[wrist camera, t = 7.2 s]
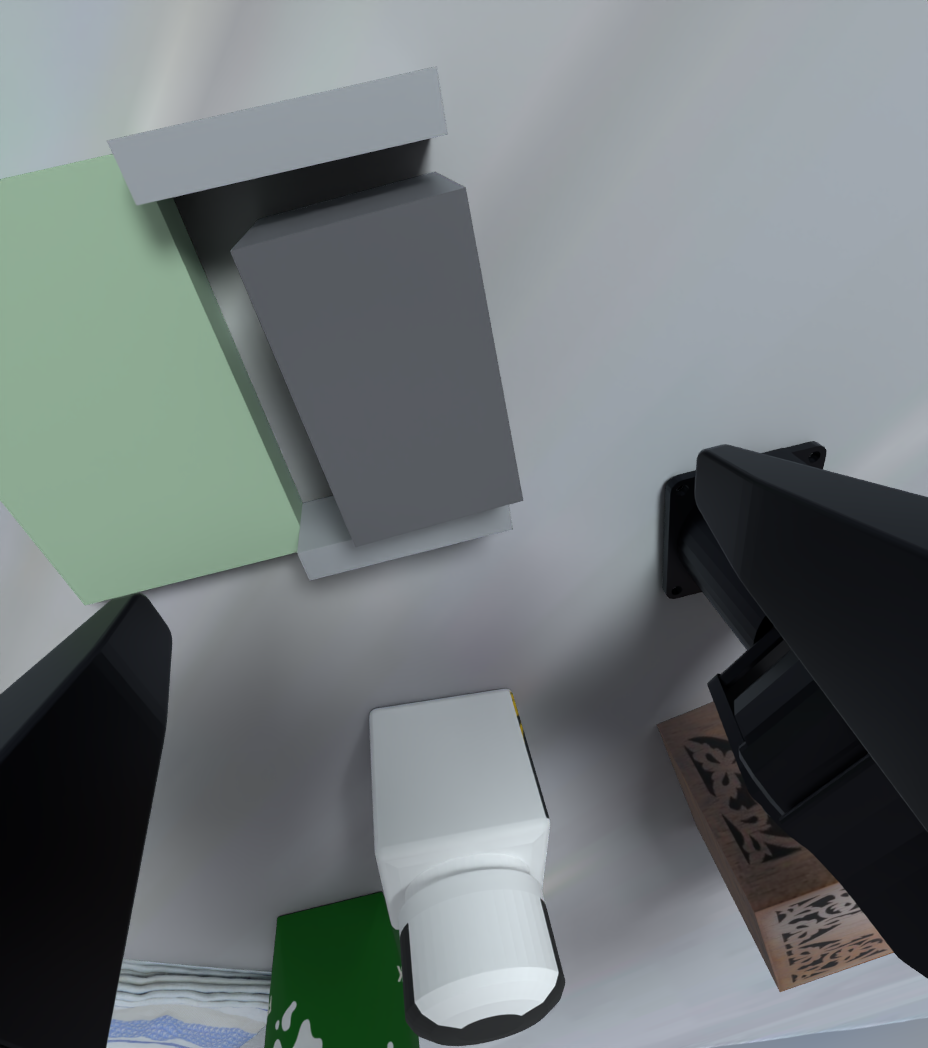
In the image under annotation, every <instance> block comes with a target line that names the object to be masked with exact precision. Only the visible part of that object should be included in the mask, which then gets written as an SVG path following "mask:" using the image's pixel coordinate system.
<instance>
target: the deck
mask: <svg viewBox="0 0 928 1048" xmlns="http://www.w3.org/2000/svg"><path fill="white" fill-rule="evenodd" d="M447 134H448V132H447V126H446V120H445V114H444V108H443V102H442V95H441V89H440V83H439V77H438V71H437V66H436V67H431V68H427V69H423V70H418V71H414V72H409V73H405V74H400V75H396V76H391V77H387V78H383V79H378V80H374V81H369V82H365V83H360V84H356V85H351V86H347V87H343V88H338V89H334V90H329V91H325V92H320V93H316V94H311V95H307V96H303V97H298V98H294V99H289V100H285V101H280V102H276V103H271V104H267V105H263V106H258V107H254V108H249V109H245V110H240V111H236V112H231V113H227V114H223V115H218V116H214V117H209V118H205V119H200V120H196V121H191V122H187V123H183V124H178V125H174V126H169V127H165V128H160V129H156V130H152V131H147V132H143V133H138V134H134V135H129V136H125V137H120V138H116V139H112V140H107V143H108V145H109V147H110V149H111V151H112V153H113V154H110V155H106V156H101V157H97V158H93V159H88V160H84V161H79V162H75V163H70V164H66V165H62V166H57V167H53V168H48V169H44V170H39V171H35V172H31V173H26V174H22V175H17V176H13V177H9V178H4V179H0V501H1V502H2V503H3V504H4V506H5V507H6V508H7V509H8V511H9V512H10V513H11V514H12V516H13V517H14V518H15V519H16V520H17V522H18V523H19V524H20V525H21V527H22V528H23V529H24V530H25V532H26V533H27V534H28V535H29V537H30V538H31V539H32V540H33V542H34V543H35V544H36V545H37V547H38V548H39V549H40V550H41V552H42V553H43V554H44V555H45V557H46V558H47V559H48V560H49V561H50V563H51V564H52V565H53V566H54V568H55V569H56V570H57V571H58V573H59V574H60V575H61V576H62V578H63V579H64V580H65V581H66V583H67V584H68V585H69V586H70V588H71V589H72V590H73V591H74V593H75V594H76V595H77V596H78V597H79V599H80V600H81V601H82V602H83V604H84V605H89V604H93V603H97V602H101V601H105V600H109V599H113V598H117V597H120V596H124V595H128V594H132V593H136V592H140V591H144V590H148V589H152V588H156V587H160V586H164V585H168V584H172V583H176V582H180V581H184V580H188V579H192V578H196V577H200V576H204V575H208V574H212V573H216V572H220V571H224V570H228V569H232V568H236V567H240V566H244V565H248V564H252V563H256V562H260V561H264V560H268V559H272V558H276V557H280V556H284V555H288V554H292V553H296V552H297V554H298V556H299V558H300V561H301V563H302V565H303V567H304V569H305V571H306V574H307V576H308V578H309V580H314V579H318V578H322V577H326V576H330V575H334V574H338V573H342V572H346V571H350V570H354V569H358V568H362V567H366V566H370V565H374V564H377V563H381V562H385V561H389V560H393V559H397V558H401V557H405V556H409V555H413V554H417V553H421V552H425V551H429V550H433V549H437V548H441V547H445V546H449V545H453V544H457V543H461V542H465V541H469V540H473V539H477V538H480V537H484V536H488V535H492V534H496V533H500V532H504V531H508V530H512V529H513V527H512V521H511V515H510V509H509V505H505V506H502V507H498V508H495V509H491V510H488V511H484V512H480V513H477V514H473V515H470V516H466V517H462V518H459V519H455V520H452V521H448V522H445V523H441V524H437V525H434V526H430V527H427V528H423V529H419V530H416V531H412V532H409V533H405V534H402V535H398V536H394V537H391V538H387V539H384V540H380V541H376V542H373V543H369V544H366V545H362V546H359V547H355V545H354V543H353V541H352V538H351V536H350V533H349V531H348V529H347V526H346V524H345V522H344V519H343V517H342V515H341V512H340V510H339V507H338V505H337V503H336V500H335V498H334V496H330V497H326V498H322V499H318V500H314V501H309V502H305V503H302V501H301V498H300V496H299V494H298V491H297V489H296V486H295V484H294V482H293V479H292V477H291V475H290V472H289V470H288V468H287V465H286V463H285V461H284V458H283V456H282V454H281V451H280V449H279V446H278V444H277V442H276V439H275V437H274V435H273V432H272V430H271V428H270V425H269V423H268V421H267V418H266V416H265V414H264V411H263V409H262V407H261V404H260V402H259V399H258V397H257V395H256V392H255V390H254V388H253V385H252V383H251V381H250V378H249V376H248V374H247V371H246V369H245V367H244V364H243V362H242V360H241V357H240V355H239V352H238V350H237V348H236V345H235V343H234V341H233V338H232V336H231V334H230V331H229V329H228V327H227V324H226V322H225V320H224V317H223V315H222V313H221V310H220V308H219V305H218V303H217V301H216V298H215V296H214V294H213V291H212V289H211V287H210V284H209V282H208V280H207V277H206V275H205V273H204V270H203V268H202V265H201V263H200V261H199V258H198V256H197V254H196V251H195V249H194V247H193V244H192V242H191V240H190V237H189V235H188V233H187V230H186V228H185V226H184V223H183V221H182V218H181V216H180V214H179V211H178V209H177V207H176V204H175V202H174V200H173V197H176V196H181V195H185V194H189V193H194V192H198V191H203V190H207V189H211V188H216V187H220V186H224V185H229V184H233V183H237V182H242V181H246V180H251V179H255V178H259V177H264V176H268V175H272V174H277V173H281V172H285V171H290V170H294V169H299V168H303V167H307V166H312V165H316V164H320V163H325V162H329V161H333V160H338V159H342V158H347V157H351V156H355V155H360V154H364V153H368V152H373V151H377V150H381V149H386V148H390V147H395V146H399V145H403V144H408V143H412V142H416V141H421V140H425V139H430V138H434V137H438V136H443V135H447Z"/></svg>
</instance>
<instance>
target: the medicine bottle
mask: <svg viewBox="0 0 928 1048" xmlns="http://www.w3.org/2000/svg"><path fill="white" fill-rule="evenodd" d="M369 726H370V750H371V775H372V799H373V823H374V847H375V857H376V861H377V865H378V870H379V874H380V878H381V883H382V887H383V891H384V896H385V900H386V904H387V909H388V913H389V917H390V921H391V925H392V926H393V927H394V928H395V929H396V930H399V934H400V949H401V964H402V979H403V993H404V1008H405V1020H406V1022H407V1024H408V1025H409V1027H410V1028H411V1029H412V1030H413V1032H414V1033H415V1034H416V1035H417V1036H419V1037H421V1038H424V1039H427V1040H429V1041H432V1042H435V1043H438V1044H441V1045H447V1046H465V1045H474V1044H480V1043H485V1042H490V1041H494V1040H498V1039H501V1038H504V1037H508V1036H511V1035H513V1034H516V1033H518V1032H521V1031H523V1030H525V1029H527V1028H529V1027H531V1026H533V1025H534V1024H536V1023H537V1022H539V1021H540V1020H541V1019H543V1018H544V1017H545V1016H546V1015H547V1014H548V1012H549V1011H550V1010H551V1009H552V1008H553V1007H554V1006H555V1005H556V1004H557V1003H558V1002H559V1000H560V998H561V996H562V992H563V989H564V986H565V978H564V974H563V970H562V967H561V963H560V959H559V955H558V951H557V947H556V943H555V939H554V935H553V932H552V928H551V924H550V920H549V916H548V912H547V908H546V904H545V901H544V897H543V893H542V888H543V880H544V872H545V864H546V856H547V848H548V840H549V831H550V819H549V815H548V812H547V809H546V805H545V802H544V799H543V795H542V792H541V788H540V785H539V782H538V778H537V775H536V771H535V768H534V765H533V761H532V758H531V754H530V751H529V748H528V744H527V741H526V737H525V734H524V731H523V727H522V724H521V720H520V717H519V714H518V710H517V707H516V703H515V700H514V697H513V694H512V692H511V690H509V689H498V690H492V691H485V692H479V693H473V694H466V695H460V696H453V697H447V698H440V699H434V700H427V701H421V702H414V703H408V704H402V705H395V706H389V707H382V708H376V709H374V710H372V711H371V712H370V716H369Z"/></svg>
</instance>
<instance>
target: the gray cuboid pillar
mask: <svg viewBox="0 0 928 1048" xmlns="http://www.w3.org/2000/svg"><path fill="white" fill-rule="evenodd" d="M230 252H231V255H232V257H233V259H234V262H235V264H236V266H237V269H238V271H239V273H240V276H241V278H242V281H243V283H244V285H245V288H246V290H247V292H248V295H249V297H250V299H251V302H252V304H253V307H254V309H255V311H256V314H257V316H258V318H259V321H260V323H261V325H262V328H263V330H264V333H265V335H266V337H267V340H268V342H269V344H270V347H271V349H272V351H273V354H274V356H275V359H276V361H277V363H278V366H279V368H280V370H281V373H282V375H283V377H284V380H285V382H286V385H287V387H288V389H289V392H290V394H291V396H292V399H293V401H294V403H295V406H296V408H297V411H298V413H299V415H300V418H301V420H302V422H303V425H304V427H305V429H306V432H307V434H308V437H309V439H310V441H311V444H312V446H313V448H314V451H315V453H316V455H317V458H318V460H319V463H320V465H321V467H322V470H323V472H324V474H325V477H326V479H327V481H328V484H329V486H330V489H331V491H332V493H333V496H334V498H335V500H336V503H337V505H338V507H339V510H340V512H341V515H342V517H343V519H344V522H345V524H346V526H347V529H348V531H349V533H350V536H351V538H352V541H353V543H354V545H355V547H359V546H362V545H366V544H369V543H373V542H376V541H380V540H384V539H387V538H391V537H394V536H398V535H402V534H405V533H409V532H412V531H416V530H419V529H423V528H427V527H430V526H434V525H437V524H441V523H445V522H448V521H452V520H455V519H459V518H462V517H466V516H470V515H473V514H477V513H480V512H484V511H488V510H491V509H495V508H498V507H502V506H505V505H509V504H513V503H516V502H520V501H523V497H522V491H521V486H520V480H519V475H518V469H517V464H516V459H515V453H514V448H513V442H512V437H511V431H510V426H509V421H508V415H507V410H506V404H505V399H504V393H503V388H502V383H501V377H500V372H499V366H498V361H497V355H496V350H495V345H494V339H493V334H492V328H491V323H490V317H489V312H488V307H487V301H486V296H485V290H484V285H483V280H482V274H481V269H480V263H479V258H478V252H477V247H476V242H475V236H474V231H473V225H472V220H471V214H470V209H469V204H468V198H467V193H466V187H464V186H462V185H460V184H458V183H456V182H454V181H452V180H450V179H448V178H446V177H445V176H443V175H441V174H439V173H437V172H432V173H428V174H425V175H421V176H417V177H413V178H410V179H406V180H402V181H399V182H395V183H391V184H387V185H384V186H380V187H376V188H373V189H369V190H365V191H361V192H358V193H354V194H350V195H347V196H343V197H339V198H335V199H332V200H328V201H324V202H321V203H317V204H313V205H309V206H306V207H302V208H298V209H295V210H291V211H287V212H283V213H280V214H276V215H272V216H269V217H265V218H261V219H258V220H257V221H256V223H255V224H254V225H253V226H252V227H251V228H250V229H249V230H248V231H247V233H246V234H245V235H244V236H243V237H242V238H241V239H240V240H239V242H238V243H237V244H236V245H235V246H234V247H233V248H232V249H231V250H230Z"/></svg>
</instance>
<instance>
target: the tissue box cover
mask: <svg viewBox="0 0 928 1048" xmlns="http://www.w3.org/2000/svg"><path fill="white" fill-rule="evenodd" d="M657 727H658V729H659V732H660V735H661V737H662V740H663V742H664V745H665V747H666V750H667V752H668V755H669V757H670V760H671V762H672V765H673V767H674V770H675V772H676V775H677V778H678V780H679V783H680V785H681V788H682V790H683V793H684V795H685V798H686V800H687V803H688V805H689V808H690V810H691V813H692V815H693V818H694V821H695V823H696V826H697V828H698V830H699V832H700V834H701V836H702V838H703V840H704V842H705V844H706V846H707V848H708V850H709V852H710V854H711V856H712V858H713V860H714V862H715V864H716V866H717V868H718V870H719V872H720V874H721V876H722V878H723V880H724V882H725V884H726V886H727V888H728V890H729V892H730V894H731V896H732V898H733V899H734V901H735V903H736V905H737V907H738V909H739V911H740V913H741V915H742V917H743V919H744V921H745V923H746V925H747V927H748V929H749V931H750V933H751V935H752V937H753V939H754V941H755V943H756V945H757V947H758V949H759V951H760V953H761V955H762V957H763V959H764V961H765V963H766V965H767V967H768V969H769V971H770V973H771V975H772V977H773V979H774V981H775V983H776V985H777V987H778V989H779V991H780V992H782V991H785V990H788V989H790V988H793V987H796V986H799V985H802V984H805V983H808V982H811V981H813V980H816V979H819V978H822V977H825V976H828V975H831V974H833V973H836V972H839V971H842V970H845V969H848V968H851V967H854V966H856V965H859V964H862V963H865V962H868V961H871V960H874V959H877V958H879V957H882V956H885V955H888V954H891V953H894V952H893V951H892V949H891V948H890V947H889V945H888V944H887V943H886V942H885V940H884V939H883V938H882V936H881V935H880V934H879V932H878V931H877V930H876V929H875V927H874V926H873V925H872V923H871V922H870V921H869V919H868V918H867V917H866V915H865V914H864V913H863V912H862V910H861V909H860V908H859V906H858V905H857V904H856V903H855V901H854V900H853V899H852V898H851V896H850V895H849V894H848V893H847V892H846V890H845V889H844V888H843V887H842V885H841V884H840V883H839V882H838V881H837V880H836V879H835V878H834V876H833V875H832V874H831V873H830V872H829V871H828V870H827V869H826V868H825V867H824V866H823V865H822V864H821V862H820V861H819V860H818V859H817V858H816V857H815V856H814V855H813V854H812V853H811V852H810V851H809V850H808V849H806V848H805V847H803V846H802V845H800V844H799V843H798V842H797V841H795V840H794V839H793V838H791V837H790V836H789V835H788V834H787V833H786V832H785V831H784V830H783V829H782V828H780V827H779V826H778V825H777V824H776V823H775V822H774V820H773V819H772V818H771V817H770V816H769V815H768V814H767V813H766V812H765V811H764V810H763V808H762V806H761V805H760V804H759V803H757V802H756V801H755V800H754V799H753V798H752V797H751V795H750V794H749V792H748V790H747V788H746V785H745V782H744V780H743V777H742V774H741V772H740V770H739V768H738V765H737V762H736V760H735V757H734V754H733V752H732V749H731V746H730V744H729V741H728V738H727V736H726V733H725V730H724V728H723V725H722V722H721V720H720V717H719V714H718V711H717V709H716V706H715V703H714V702H711V703H709V704H706V705H704V706H701V707H699V708H696V709H694V710H692V711H689V712H687V713H684V714H682V715H679V716H677V717H674V718H672V719H669V720H667V721H664V722H662V723H660V724H657Z"/></svg>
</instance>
